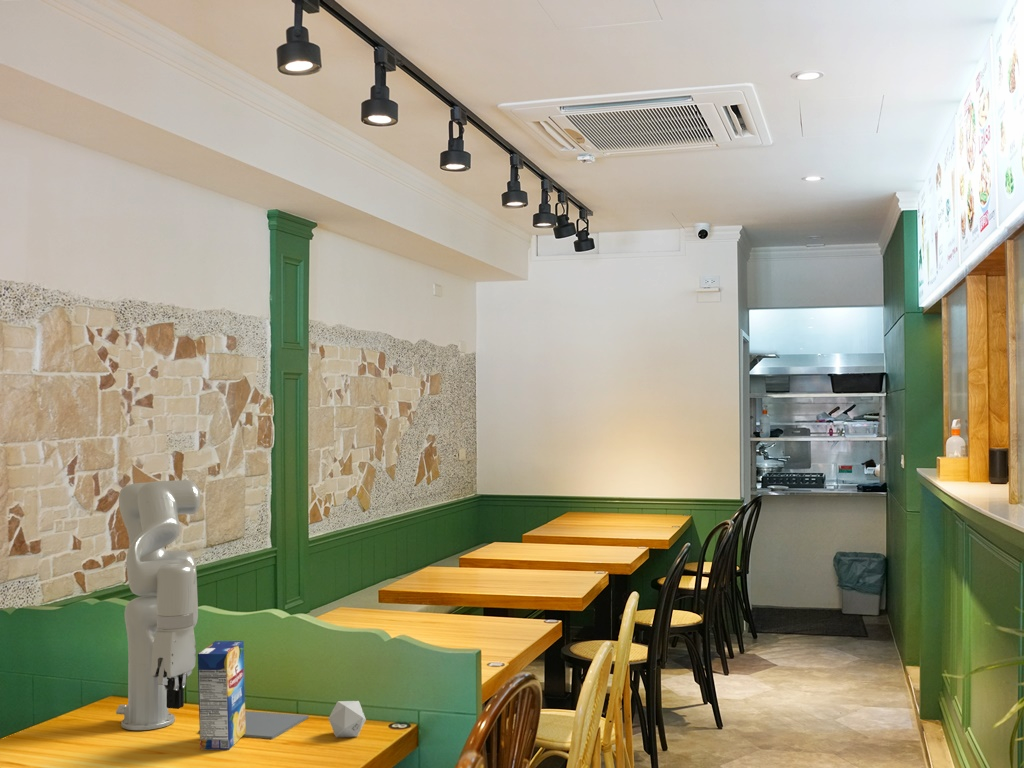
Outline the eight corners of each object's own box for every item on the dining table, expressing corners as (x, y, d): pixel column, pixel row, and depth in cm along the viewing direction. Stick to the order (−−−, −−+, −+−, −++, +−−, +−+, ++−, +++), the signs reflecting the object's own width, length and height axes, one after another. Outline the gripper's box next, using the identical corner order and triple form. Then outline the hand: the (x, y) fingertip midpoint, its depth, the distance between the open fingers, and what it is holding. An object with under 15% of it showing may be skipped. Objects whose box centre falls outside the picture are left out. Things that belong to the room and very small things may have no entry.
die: (348, 746, 231) (371, 708, 234) (317, 726, 233) (341, 689, 236) (353, 748, 238) (375, 712, 242) (323, 729, 240) (346, 693, 244)
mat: (198, 733, 240) (198, 730, 240) (238, 712, 258) (238, 710, 258) (272, 739, 235) (272, 736, 235) (308, 717, 252) (308, 715, 252)
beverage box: (199, 749, 228) (197, 653, 227) (218, 732, 239) (215, 640, 238) (228, 750, 227) (226, 654, 227) (245, 732, 238) (243, 640, 238)
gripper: (180, 615, 225) (180, 697, 224) (138, 627, 210) (138, 716, 209) (210, 616, 222) (210, 699, 222) (169, 629, 208) (169, 718, 207)
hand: (175, 707), depth 215 cm, fingers closed
